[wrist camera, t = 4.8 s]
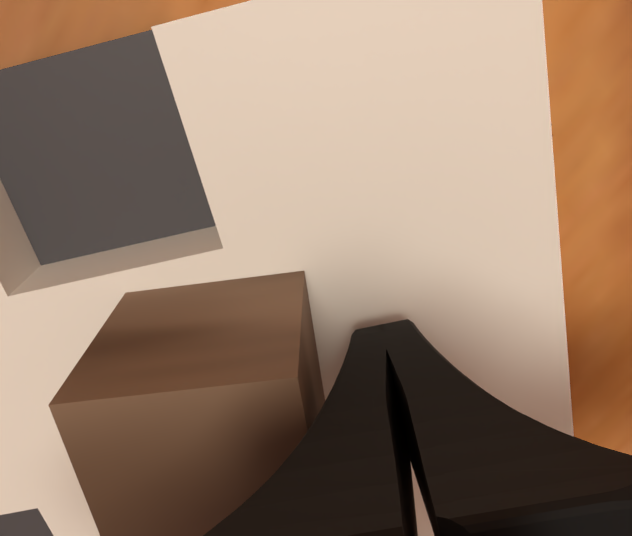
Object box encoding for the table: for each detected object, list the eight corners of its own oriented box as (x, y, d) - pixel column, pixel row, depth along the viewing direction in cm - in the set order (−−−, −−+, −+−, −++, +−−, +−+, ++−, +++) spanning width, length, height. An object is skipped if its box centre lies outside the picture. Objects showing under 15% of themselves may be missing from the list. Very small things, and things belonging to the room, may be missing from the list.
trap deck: (554, 485, 18) (615, 608, 14) (-190, 613, 20) (-302, 747, 17) (502, -63, 12) (586, -94, 8) (-542, 213, 14) (-837, 283, 11)
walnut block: (328, 418, 14) (330, 559, 11) (168, 435, 14) (117, 579, 11) (304, 270, 13) (297, 376, 9) (125, 292, 13) (48, 404, 9)
